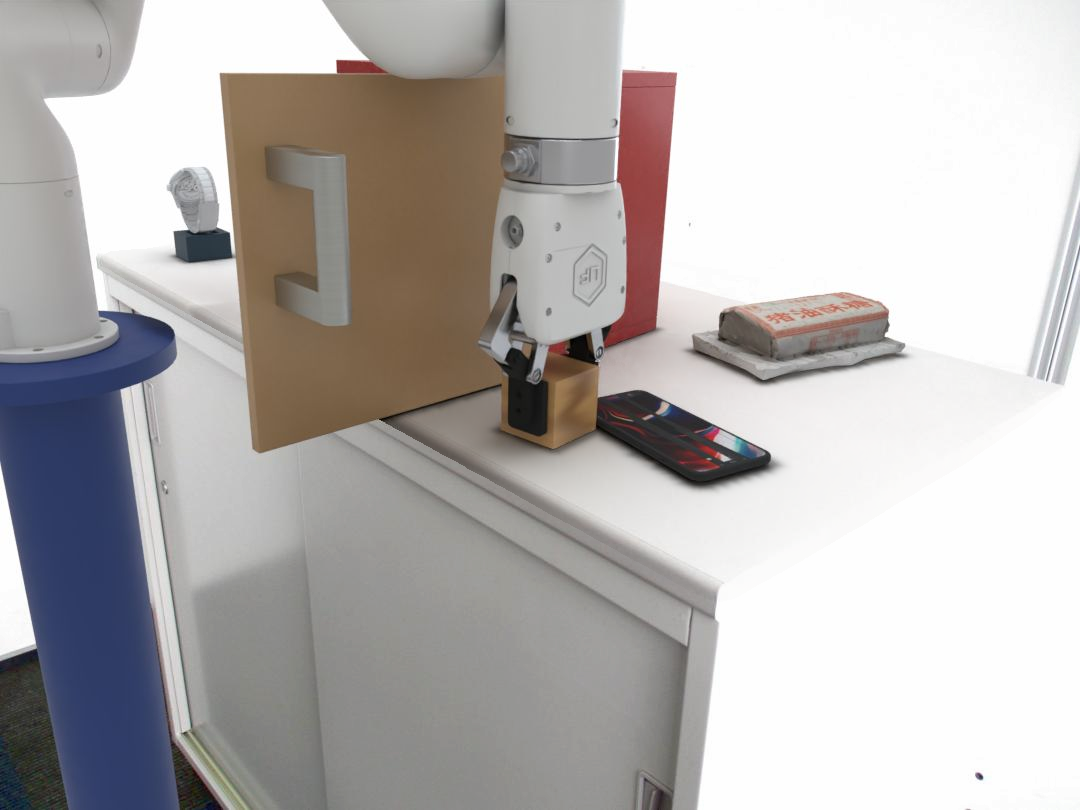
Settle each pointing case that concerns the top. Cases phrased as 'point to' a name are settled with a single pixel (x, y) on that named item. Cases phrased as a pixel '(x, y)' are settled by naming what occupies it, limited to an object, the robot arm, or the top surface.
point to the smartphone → (676, 436)
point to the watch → (198, 216)
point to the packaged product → (800, 334)
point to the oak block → (562, 401)
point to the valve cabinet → (629, 189)
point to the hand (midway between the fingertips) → (552, 417)
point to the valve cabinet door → (361, 243)
